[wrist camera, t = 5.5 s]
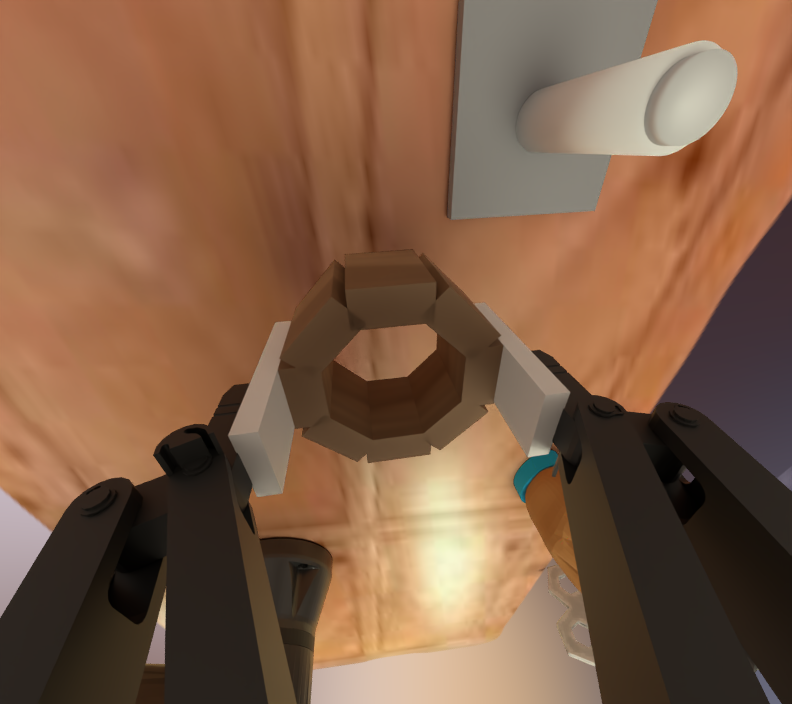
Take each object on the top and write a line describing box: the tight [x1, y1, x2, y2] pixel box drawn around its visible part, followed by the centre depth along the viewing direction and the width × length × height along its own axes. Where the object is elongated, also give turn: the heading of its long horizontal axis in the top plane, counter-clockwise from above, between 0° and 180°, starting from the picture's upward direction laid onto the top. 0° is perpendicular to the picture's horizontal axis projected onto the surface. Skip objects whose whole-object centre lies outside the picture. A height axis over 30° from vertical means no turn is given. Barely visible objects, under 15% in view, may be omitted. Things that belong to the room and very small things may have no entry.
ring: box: [278, 249, 504, 463], centre depth 13 cm, size 8×8×4 cm
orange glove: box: [514, 450, 582, 593], centre depth 34 cm, size 12×7×15 cm, turn 166°
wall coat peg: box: [447, 0, 737, 220], centre depth 14 cm, size 10×10×11 cm
